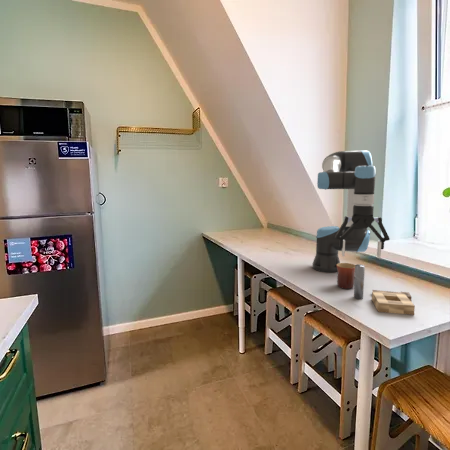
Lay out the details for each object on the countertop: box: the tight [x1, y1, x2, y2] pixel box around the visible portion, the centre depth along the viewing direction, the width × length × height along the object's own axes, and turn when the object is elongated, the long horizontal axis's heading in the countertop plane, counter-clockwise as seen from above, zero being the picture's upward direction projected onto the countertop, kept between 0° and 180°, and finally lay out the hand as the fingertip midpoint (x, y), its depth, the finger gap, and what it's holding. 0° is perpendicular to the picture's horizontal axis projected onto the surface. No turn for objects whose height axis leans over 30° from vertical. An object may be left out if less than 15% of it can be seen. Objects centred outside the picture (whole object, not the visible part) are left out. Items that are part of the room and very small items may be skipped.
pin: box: [353, 263, 366, 300], centre depth 129 cm, size 4×4×14 cm
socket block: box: [371, 291, 416, 316], centre depth 120 cm, size 12×12×4 cm
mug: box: [336, 262, 356, 290], centre depth 142 cm, size 12×9×10 cm
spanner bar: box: [372, 289, 412, 302], centre depth 130 cm, size 14×5×2 cm, turn 71°
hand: (360, 256), depth 127 cm, fingers open, 13 cm apart
